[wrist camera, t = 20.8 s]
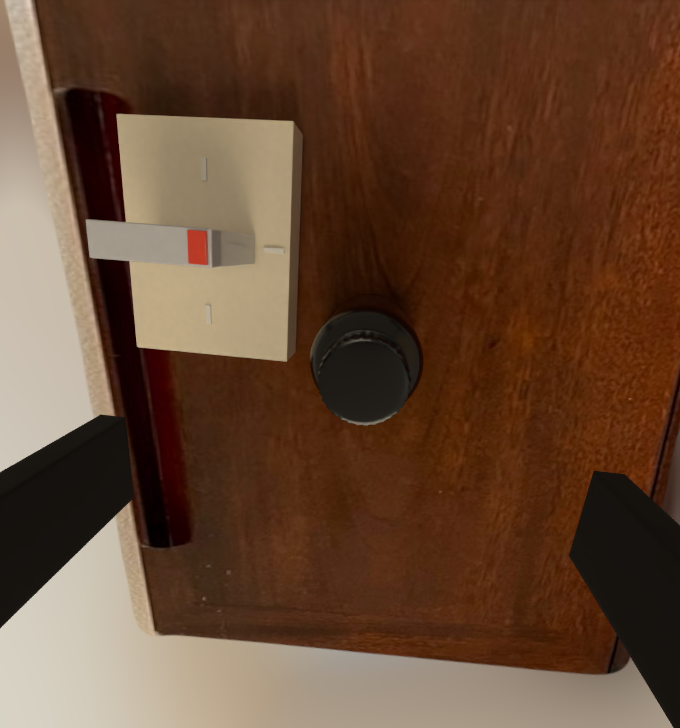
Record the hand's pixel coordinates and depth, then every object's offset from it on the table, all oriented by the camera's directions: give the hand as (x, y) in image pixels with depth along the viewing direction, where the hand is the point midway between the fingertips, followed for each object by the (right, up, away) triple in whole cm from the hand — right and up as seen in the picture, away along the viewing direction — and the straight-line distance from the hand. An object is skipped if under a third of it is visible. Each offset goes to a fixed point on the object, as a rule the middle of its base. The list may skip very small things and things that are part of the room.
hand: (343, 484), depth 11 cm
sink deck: (-9, +13, +19) cm, 25 cm away
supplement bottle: (+2, +6, +20) cm, 21 cm away
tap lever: (-10, +12, +16) cm, 22 cm away
